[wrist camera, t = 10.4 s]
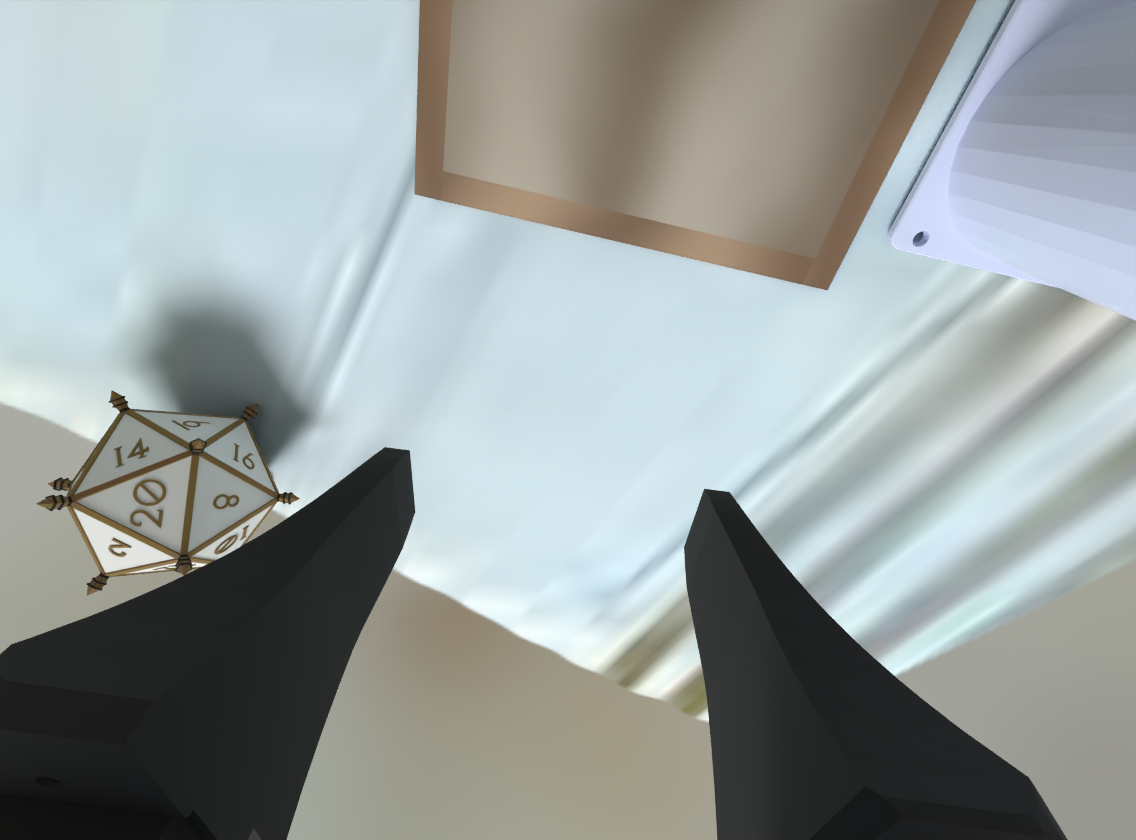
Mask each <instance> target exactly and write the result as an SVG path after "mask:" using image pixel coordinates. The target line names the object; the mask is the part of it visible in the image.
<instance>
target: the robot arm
mask: <svg viewBox="0 0 1136 840" xmlns="http://www.w3.org/2000/svg"><path fill="white" fill-rule="evenodd" d="M921 231H923V237H922V239H921V240H920V241H919V242H917V243H915V244H913V242H912V241H913V238H914V236H915V235H916V234H917V233H919V232H921ZM887 237H888V242H889V244H890V245H891V246H893V247H895V248H896V249H898V250H902V251H906V252H911V253H915V254H919V255H923V256H927V257H932V258H936V259H940V260H944V261H948V262H953V263H957V264H961V265H965V266H969V267H973V268H978V269H982V270H986V271H990V272H994V273H999V274H1003V275H1007V276H1011V277H1015V278H1020V279H1024V280H1028V281H1032V282H1036V283H1040V284H1045V285H1049V286H1053V287H1057V288H1061V289H1063V290H1066V291H1068V292H1070V293H1073V294H1075V295H1077V296H1080V297H1082V298H1084V299H1087V300H1089V301H1091V302H1094V303H1096V304H1098V305H1101V306H1103V307H1105V308H1108V309H1110V310H1112V311H1115V312H1117V313H1119V314H1122V315H1124V316H1126V317H1129V318H1131V319H1133V320H1136V0H1015V2H1014V3H1013V5H1012V7H1011V9H1010V11H1009V13H1008V14H1007V16H1006V18H1005V20H1004V22H1003V24H1002V25H1001V27H1000V29H999V31H998V33H997V35H996V36H995V38H994V40H993V42H992V44H991V46H990V47H989V49H988V51H987V53H986V55H985V56H984V58H983V60H982V62H981V64H980V66H979V67H978V69H977V71H976V73H975V75H974V77H973V78H972V80H971V82H970V84H969V86H968V88H967V89H966V91H965V93H964V95H963V97H962V99H961V100H960V102H959V104H958V106H957V108H956V109H955V111H954V113H953V115H952V117H951V119H950V120H949V122H948V124H947V126H946V128H945V130H944V131H943V133H942V135H941V137H940V139H939V141H938V142H937V144H936V146H935V148H934V150H933V152H932V153H931V155H930V157H929V159H928V161H927V162H926V164H925V166H924V168H923V170H922V172H921V173H920V175H919V177H918V179H917V181H916V183H915V184H914V186H913V188H912V190H911V192H910V194H909V195H908V197H907V199H906V201H905V203H904V205H903V206H902V208H901V210H900V212H899V214H898V215H897V217H896V219H895V221H894V223H893V225H892V226H891V228H890V230H889V233H888V236H887ZM414 514H415V505H414V493H413V482H412V471H411V460H410V451H409V450H402V449H394V448H386V447H385V448H383V449H382V450H381V451H379V452H378V453H377V454H375V455H374V456H372V457H371V458H370V459H369V460H367V461H366V462H365V463H363V464H362V465H361V466H359V467H358V468H357V469H355V470H354V471H353V472H352V473H350V474H349V475H348V476H346V477H345V478H344V479H342V480H341V481H340V482H338V483H337V484H336V485H334V486H333V487H332V488H330V489H329V490H327V491H326V492H325V493H323V494H322V495H321V496H319V497H318V498H317V499H315V500H314V501H312V502H311V503H309V504H308V505H306V506H305V507H303V508H302V509H300V510H299V511H298V512H296V513H295V514H293V515H292V516H290V517H289V518H287V519H286V520H284V521H283V522H281V523H280V524H278V525H277V526H275V527H273V528H272V529H270V530H268V531H267V532H265V533H264V534H262V535H260V536H258V537H257V538H255V539H253V540H252V541H250V542H248V543H246V544H244V545H243V546H241V547H239V548H237V549H236V550H234V551H232V552H230V553H228V554H226V555H225V556H223V557H221V558H219V559H217V560H215V561H213V562H211V563H209V564H207V565H205V566H203V567H201V568H199V569H197V570H195V571H193V572H190V573H188V574H186V575H184V576H183V577H180V578H178V579H176V580H174V581H172V582H170V583H168V584H166V585H163V586H161V587H159V588H157V589H155V590H152V591H150V592H148V593H145V594H143V595H141V596H138V597H136V598H134V599H131V600H129V601H126V602H124V603H122V604H119V605H117V606H115V607H112V608H110V609H107V610H104V611H102V612H99V613H97V614H94V615H92V616H89V617H87V618H84V619H81V620H78V621H76V622H73V623H70V624H67V625H65V626H62V627H59V628H56V629H54V630H51V631H48V632H46V633H43V634H40V635H37V636H35V637H32V638H29V639H26V640H23V641H20V642H17V643H14V644H12V645H10V646H9V647H8V648H7V649H6V650H5V651H3V652H2V653H1V654H0V840H286V839H287V836H288V833H289V829H290V826H291V823H292V820H293V817H294V814H295V811H296V808H297V804H298V801H299V798H300V795H301V791H302V788H303V786H304V783H305V780H306V777H307V774H308V771H309V768H310V765H311V762H312V759H313V756H314V753H315V750H316V747H317V745H318V742H319V739H320V736H321V733H322V730H323V727H324V725H325V722H326V719H327V717H328V713H329V711H330V708H331V706H332V703H333V700H334V697H335V695H336V692H337V689H338V687H339V684H340V681H341V679H342V676H343V674H344V671H345V668H346V666H347V663H348V661H349V658H350V656H351V653H352V650H353V648H354V646H355V643H356V641H357V639H358V637H359V635H360V632H361V630H362V628H363V626H364V624H365V622H366V620H367V619H368V617H369V614H370V613H371V611H372V609H373V607H374V605H375V602H376V601H377V599H378V597H379V595H380V593H381V591H382V589H383V587H384V585H385V583H386V581H387V579H388V576H389V575H390V573H391V571H392V569H393V567H394V565H395V563H396V561H397V559H398V557H399V555H400V553H401V550H402V548H403V546H404V543H405V540H406V537H407V535H408V532H409V529H410V526H411V523H412V520H413V517H414ZM684 552H685V570H686V584H687V591H688V596H689V602H690V607H691V612H692V618H693V623H694V628H695V633H696V638H697V643H698V649H699V654H700V659H701V664H702V669H703V674H704V681H705V687H706V694H707V703H708V714H709V724H710V735H711V746H712V760H713V773H714V786H715V803H716V819H717V820H716V821H717V839H718V840H1067V838H1066V837H1065V835H1064V833H1063V832H1062V830H1061V829H1060V827H1059V825H1058V824H1057V822H1056V820H1055V819H1054V817H1053V815H1052V814H1051V812H1050V811H1049V809H1048V807H1047V806H1046V804H1045V802H1044V801H1043V799H1042V798H1041V796H1040V794H1039V793H1038V791H1037V789H1036V788H1035V786H1034V785H1033V783H1032V782H1031V780H1030V779H1029V777H1027V776H1026V775H1024V774H1023V773H1022V772H1020V771H1019V770H1017V769H1016V768H1015V767H1013V766H1012V765H1010V764H1009V763H1008V762H1006V761H1005V760H1003V759H1002V758H1001V757H999V756H998V755H996V754H995V753H993V752H992V751H991V750H989V749H988V748H987V747H985V746H984V745H982V744H981V743H979V742H978V741H976V740H975V739H974V738H972V737H971V736H969V735H968V734H967V733H965V732H964V731H963V730H961V729H960V728H959V727H957V726H956V725H955V724H953V723H952V722H950V721H949V720H948V719H947V718H946V717H944V716H943V715H942V714H941V713H939V712H938V711H937V710H935V709H934V708H933V707H932V706H930V705H929V704H928V703H926V702H925V701H924V700H923V699H921V698H920V697H919V696H918V695H917V694H915V693H914V692H913V691H912V690H910V689H909V688H908V687H907V686H906V685H904V684H903V683H902V682H901V681H899V680H898V679H897V678H896V677H895V676H894V675H893V674H891V673H890V672H889V671H888V670H887V669H886V668H885V667H884V666H882V665H881V664H880V663H879V662H878V661H877V660H876V659H874V658H873V657H872V656H871V655H870V654H869V653H868V652H867V651H866V650H864V649H863V648H862V647H861V646H860V645H859V644H858V643H857V642H856V641H855V640H854V639H853V638H852V637H851V636H850V635H849V634H848V633H847V632H846V631H845V630H844V629H843V628H842V627H841V626H840V625H839V624H838V623H837V622H836V621H835V620H834V619H833V618H832V617H831V616H830V615H829V614H828V613H827V612H826V611H825V610H824V609H823V608H822V607H821V606H820V605H819V604H818V603H817V602H816V601H815V600H814V599H813V597H812V596H811V595H810V594H809V593H808V592H807V591H806V589H805V588H804V587H803V586H802V585H801V584H800V583H799V581H798V580H797V579H796V578H795V577H794V576H793V575H792V573H791V572H790V571H789V570H788V569H787V567H786V566H785V565H784V564H783V562H782V561H781V560H780V559H779V557H778V556H777V555H776V554H775V552H774V551H773V550H772V549H771V547H770V546H769V545H768V543H767V542H766V541H765V540H764V538H763V537H762V536H761V534H760V533H759V532H758V530H757V529H756V528H755V526H754V525H753V524H752V522H751V521H750V519H749V518H748V517H747V515H746V514H745V513H744V511H743V510H742V509H741V507H740V506H739V504H738V503H737V502H736V500H735V499H734V498H733V496H732V495H731V494H730V492H724V491H717V490H709V489H704V491H703V494H702V497H701V500H700V503H699V506H698V509H697V512H696V514H695V517H694V520H693V523H692V526H691V529H690V532H689V535H688V538H687V541H686V543H685V546H684Z"/></svg>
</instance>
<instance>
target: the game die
mask: <svg viewBox="0 0 1136 840" xmlns="http://www.w3.org/2000/svg"><path fill="white" fill-rule="evenodd" d="M124 398H125V396H121V395H120V394H118V393H116V392H114V391H112V392H111V399H110V401H109V403H110V402H111V403H112V404H113V405H114V406H112V407H113V408H114V407H115V408H117V409H118V410H119V412H120V413H119V414H118V416H117V417H116V419H115V420H114V422H113V423H112V425H111V426H110V427H109V429H108V430H107V432H106V433H105V435H104V436H103V437H102V439H101V440H100V442H99V443H98V445H97V446H96V448H95V449H94V450H93V452H92V453H91V455H90V456H89V458H88V459H87V461H86V462H85V464H84V465H83V466H82V468H81V469H80V471H79V472H78V474H77V475H76V476H75V478H74V479H73V481H71V480H69V479H68V478H66V479H63V478H59V479H57V480H55V481H53V482H51V483H48V484H49V485H50V486H52V487H53V489H54V490H59V491H60V490H65V491H67V490H68V489H69V491H68V494H67V496H66V497H64V496H63V495H59V496H54V495H52V496H48V497H46V499H44V500H42V501H41V502H39V503H37V505H40V506H43V507H45V508H47V509H49V510H50V511H53V509H58V510H61V508H62V507H65V506H67V508H68V510H69V512H70V513H71V516H72V518H73V519H74V521H75V523H76V525H77V527H78V529H79V531H80V533H81V535H82V537H83V539H84V541H85V543H86V545H87V547H88V549H89V551H90V553H91V555H92V557H93V559H94V561H95V562H96V564H97V566H98V568H99V570H100V572H101V573H100V575H99V576H97V577H96V578H92V581H91V582H90V583H87V585H88V591H87V595H90V594H92V593H94V592H97V591H99V590H102V587H103V586H104V585H106V581H107V579H108V578H109V577H114V576H125V575H135V574H145V573H156V572H166V571H176V572H179V573H181V574H183V575H186V574H187V573H188V572H189V571H190V570H192V569H197V568H201V567H203V566H205V565H207V564H209V563H211V562H213V561H215V560H217V559H219V558H221V557H223V556H225V555H226V554H228V553H230V552H232V551H234V550H236V549H237V548H239V547H241V546H243V545H244V544H245V543H246V542H247V541H248V539H249V538H250V537H251V535H252V534H253V533H254V531H255V530H256V529H257V528H258V526H259V525H260V523H261V522H262V521H263V520H264V518H265V517H266V516H267V514H268V513H269V512H270V511H271V509H272V508H273V507H274V505H275V504H276V503H277V502H278V501H280V502H283V504H285V503H289V504H291V503H292V502H294V501H296V500H298V499H300V498H298V497H296V496H295V495H293V493H292V492H290V493H286V492H284V493H283V494H279V491H278V489H277V487H276V485H275V483H274V480H273V478H272V476H271V474H270V471H269V469H268V467H267V465H266V462H265V460H264V458H263V456H262V453H261V451H260V449H259V447H258V444H257V442H256V440H255V438H254V435H253V433H252V431H251V429H250V426H249V424H248V420H249V419H251V418H254V416H255V414H256V415H257V404H256V405H253V406H251V407H246V408H247V409H246V410H245V411H243V415H242V416H241V417H230V416H217V415H204V414H191V413H178V412H165V411H152V410H139V409H130V408H129V407H128V405H127V403H128V401H126V400H125V399H124Z"/></svg>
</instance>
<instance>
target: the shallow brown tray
mask: <svg viewBox="0 0 1136 840" xmlns="http://www.w3.org/2000/svg"><path fill="white" fill-rule="evenodd" d="M975 2H976V0H420V19H419V54H418V90H417V126H416V161H415V194H416V195H420V196H424V197H429V198H433V199H437V200H442V201H446V202H450V203H455V204H459V205H463V206H467V207H472V208H476V209H480V210H485V211H489V212H493V213H498V214H502V215H506V216H510V217H515V218H519V219H523V220H528V221H532V222H536V223H541V224H545V225H549V226H553V227H558V228H562V229H566V230H571V231H575V232H579V233H583V234H588V235H592V236H596V237H601V238H605V239H609V240H614V241H618V242H622V243H626V244H631V245H635V246H639V247H644V248H648V249H652V250H657V251H661V252H665V253H669V254H674V255H678V256H682V257H687V258H691V259H695V260H700V261H704V262H708V263H712V264H717V265H721V266H725V267H730V268H734V269H738V270H743V271H747V272H751V273H755V274H760V275H764V276H768V277H773V278H777V279H781V280H786V281H790V282H794V283H798V284H803V285H807V286H811V287H816V288H820V289H824V290H828V288H829V286H830V284H831V282H832V280H833V278H834V276H835V275H836V273H837V271H838V269H839V267H840V265H841V263H842V261H843V259H844V257H845V255H846V253H847V251H848V249H849V247H850V245H851V243H852V241H853V239H854V238H855V236H856V234H857V232H858V230H859V228H860V226H861V224H862V222H863V220H864V218H865V216H866V214H867V212H868V210H869V208H870V206H871V204H872V202H873V200H874V199H875V197H876V195H877V193H878V191H879V189H880V187H881V185H882V183H883V181H884V179H885V177H886V175H887V173H888V171H889V169H890V167H891V165H892V163H893V162H894V160H895V158H896V156H897V154H898V152H899V150H900V148H901V146H902V144H903V142H904V140H905V138H906V136H907V134H908V132H909V130H910V128H911V126H912V124H913V123H914V121H915V119H916V117H917V115H918V113H919V111H920V109H921V107H922V105H923V103H924V101H925V99H926V97H927V95H928V93H929V91H930V89H931V87H932V85H933V84H934V82H935V80H936V78H937V76H938V74H939V72H940V70H941V68H942V66H943V64H944V62H945V60H946V58H947V56H948V54H949V52H950V50H951V48H952V47H953V45H954V43H955V41H956V39H957V37H958V35H959V33H960V31H961V29H962V27H963V25H964V23H965V21H966V19H967V17H968V15H969V13H970V11H971V9H972V8H973V6H974V4H975Z"/></svg>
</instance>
